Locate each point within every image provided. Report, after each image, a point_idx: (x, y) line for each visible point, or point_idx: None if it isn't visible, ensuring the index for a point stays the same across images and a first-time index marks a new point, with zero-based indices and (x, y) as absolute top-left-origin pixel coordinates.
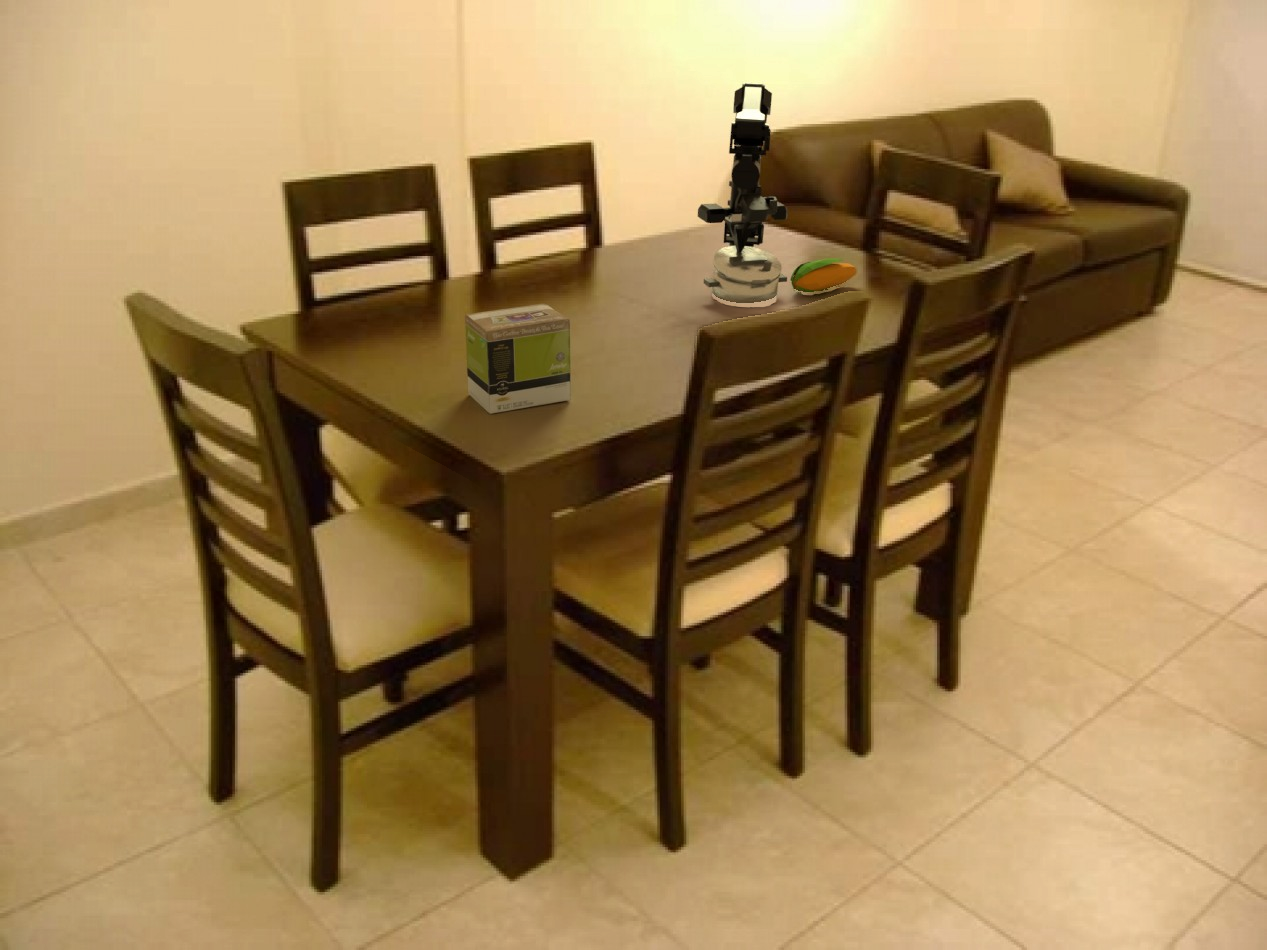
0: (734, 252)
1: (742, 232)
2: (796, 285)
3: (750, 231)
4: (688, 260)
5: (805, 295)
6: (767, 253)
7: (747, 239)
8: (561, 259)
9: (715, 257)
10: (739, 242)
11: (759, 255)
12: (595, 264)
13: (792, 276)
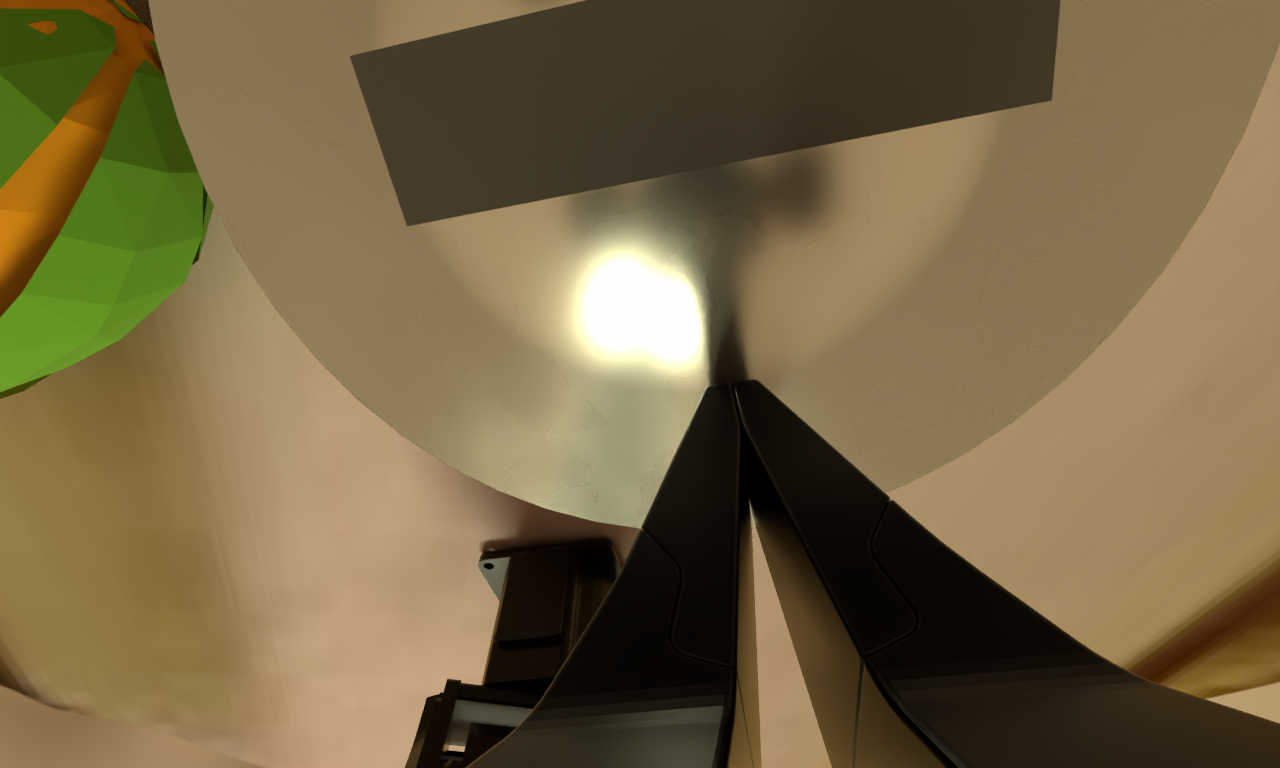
0: (812, 372)
1: (748, 649)
2: (117, 9)
3: (611, 637)
4: (761, 649)
5: None
6: (361, 370)
7: (656, 500)
8: (1266, 663)
9: (1173, 217)
10: (799, 452)
11: (480, 198)
12: (1184, 623)
13: (145, 135)
